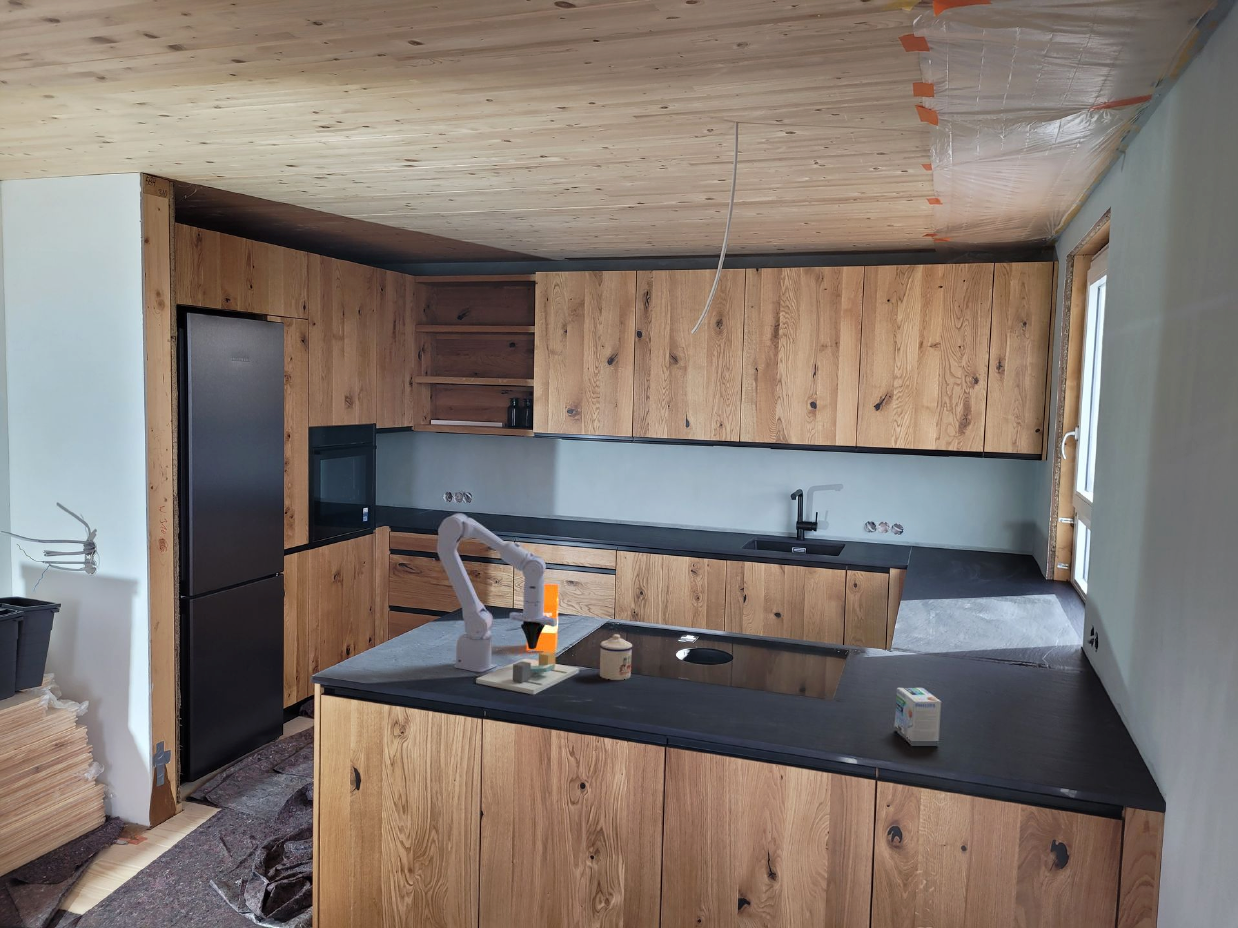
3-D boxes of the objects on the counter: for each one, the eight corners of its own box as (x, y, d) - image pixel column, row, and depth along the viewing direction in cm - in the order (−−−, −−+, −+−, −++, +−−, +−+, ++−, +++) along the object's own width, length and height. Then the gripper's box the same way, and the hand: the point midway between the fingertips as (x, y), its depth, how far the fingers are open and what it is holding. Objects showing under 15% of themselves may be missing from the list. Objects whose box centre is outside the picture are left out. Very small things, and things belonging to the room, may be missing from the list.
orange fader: (538, 669, 255) (538, 653, 255) (545, 665, 259) (546, 650, 258) (547, 670, 254) (548, 655, 253) (555, 667, 257) (555, 652, 257)
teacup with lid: (624, 682, 250) (626, 640, 250) (593, 677, 254) (595, 636, 253) (639, 671, 261) (641, 631, 261) (609, 667, 265) (611, 627, 264)
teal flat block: (521, 673, 250) (520, 669, 250) (530, 669, 253) (529, 665, 254) (546, 671, 246) (545, 667, 246) (554, 668, 250) (553, 663, 250)
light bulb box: (893, 730, 220) (895, 686, 219) (920, 731, 220) (923, 686, 220) (911, 747, 209) (913, 700, 208) (939, 747, 210) (942, 701, 209)
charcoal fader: (512, 680, 243) (513, 664, 243) (520, 677, 247) (521, 661, 247) (522, 682, 242) (522, 666, 242) (530, 678, 246) (530, 662, 245)
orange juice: (555, 652, 279) (557, 587, 277) (526, 651, 279) (528, 586, 277) (557, 645, 286) (559, 582, 285) (529, 644, 286) (531, 581, 285)
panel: (476, 682, 245) (476, 675, 245) (524, 662, 266) (525, 655, 266) (533, 694, 237) (533, 686, 237) (578, 672, 258) (579, 664, 258)
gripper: (504, 599, 257) (502, 647, 258) (548, 606, 250) (547, 655, 251) (517, 595, 263) (516, 642, 264) (561, 601, 257) (560, 649, 258)
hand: (532, 648), depth 258 cm, fingers closed
